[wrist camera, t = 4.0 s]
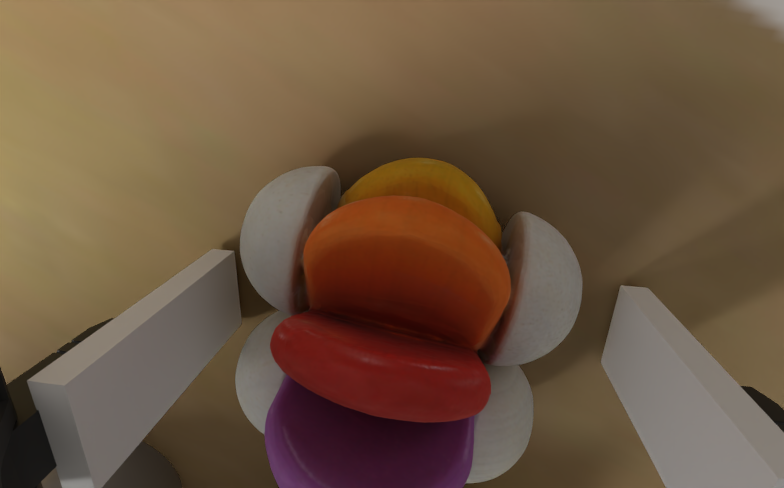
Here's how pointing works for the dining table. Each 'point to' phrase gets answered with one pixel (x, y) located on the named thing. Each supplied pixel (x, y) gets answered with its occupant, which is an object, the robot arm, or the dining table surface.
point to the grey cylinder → (134, 472)
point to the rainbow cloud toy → (397, 326)
